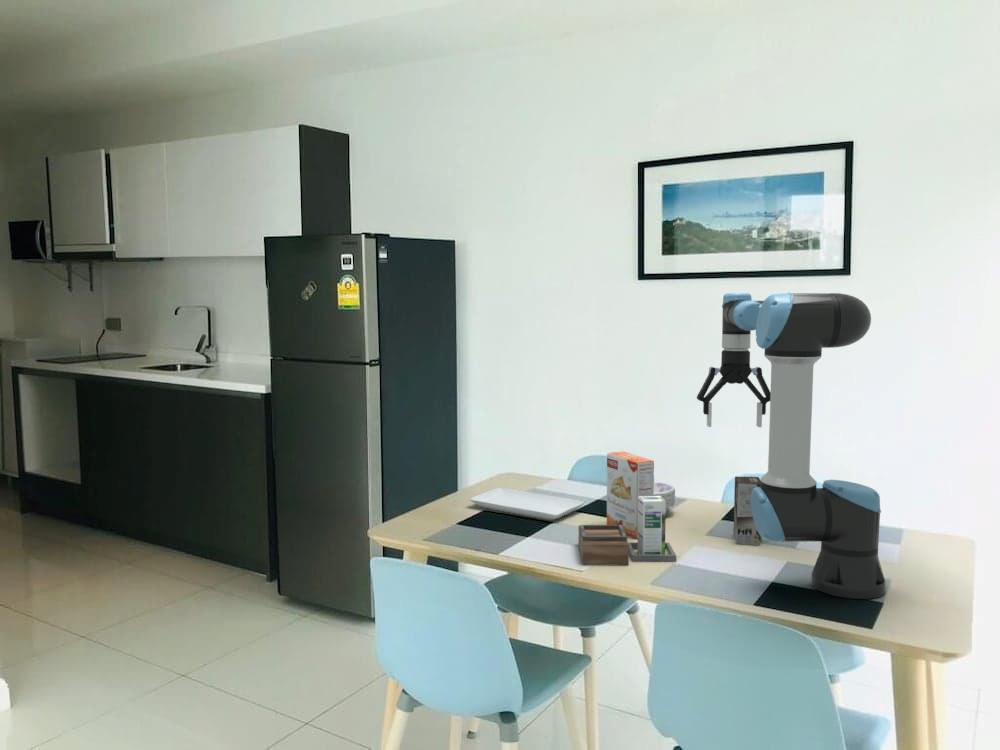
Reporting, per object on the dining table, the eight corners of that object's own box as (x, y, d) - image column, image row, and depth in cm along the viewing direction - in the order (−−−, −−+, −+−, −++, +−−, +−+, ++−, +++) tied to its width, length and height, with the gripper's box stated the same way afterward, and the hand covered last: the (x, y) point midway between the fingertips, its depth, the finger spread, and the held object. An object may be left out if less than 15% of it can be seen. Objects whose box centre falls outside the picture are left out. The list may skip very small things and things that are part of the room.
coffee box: (761, 545, 215) (763, 484, 214) (735, 544, 216) (737, 483, 215) (757, 535, 224) (759, 476, 222) (732, 534, 225) (734, 475, 224)
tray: (555, 526, 235) (555, 513, 235) (467, 509, 253) (467, 497, 253) (586, 512, 249) (586, 501, 248) (500, 497, 267) (499, 487, 266)
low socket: (676, 561, 203) (676, 555, 203) (632, 561, 203) (632, 555, 203) (668, 548, 213) (668, 542, 213) (627, 548, 214) (627, 542, 213)
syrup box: (642, 558, 205) (643, 500, 204) (636, 551, 211) (637, 494, 209) (665, 558, 205) (666, 500, 204) (659, 550, 211) (660, 494, 210)
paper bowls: (612, 509, 251) (613, 483, 250) (655, 504, 257) (656, 479, 256) (640, 522, 237) (640, 495, 236) (685, 516, 243) (685, 489, 242)
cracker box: (605, 526, 233) (605, 452, 231) (623, 523, 236) (623, 450, 234) (635, 539, 221) (636, 461, 218) (653, 536, 223) (655, 459, 221)
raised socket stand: (628, 565, 200) (628, 540, 200) (582, 564, 201) (582, 540, 200) (621, 544, 216) (621, 522, 216) (578, 544, 217) (578, 521, 216)
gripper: (778, 348, 232) (776, 424, 234) (687, 348, 233) (686, 423, 236) (786, 350, 225) (783, 428, 227) (692, 350, 226) (690, 428, 228)
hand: (733, 426), depth 231 cm, fingers open, 13 cm apart
